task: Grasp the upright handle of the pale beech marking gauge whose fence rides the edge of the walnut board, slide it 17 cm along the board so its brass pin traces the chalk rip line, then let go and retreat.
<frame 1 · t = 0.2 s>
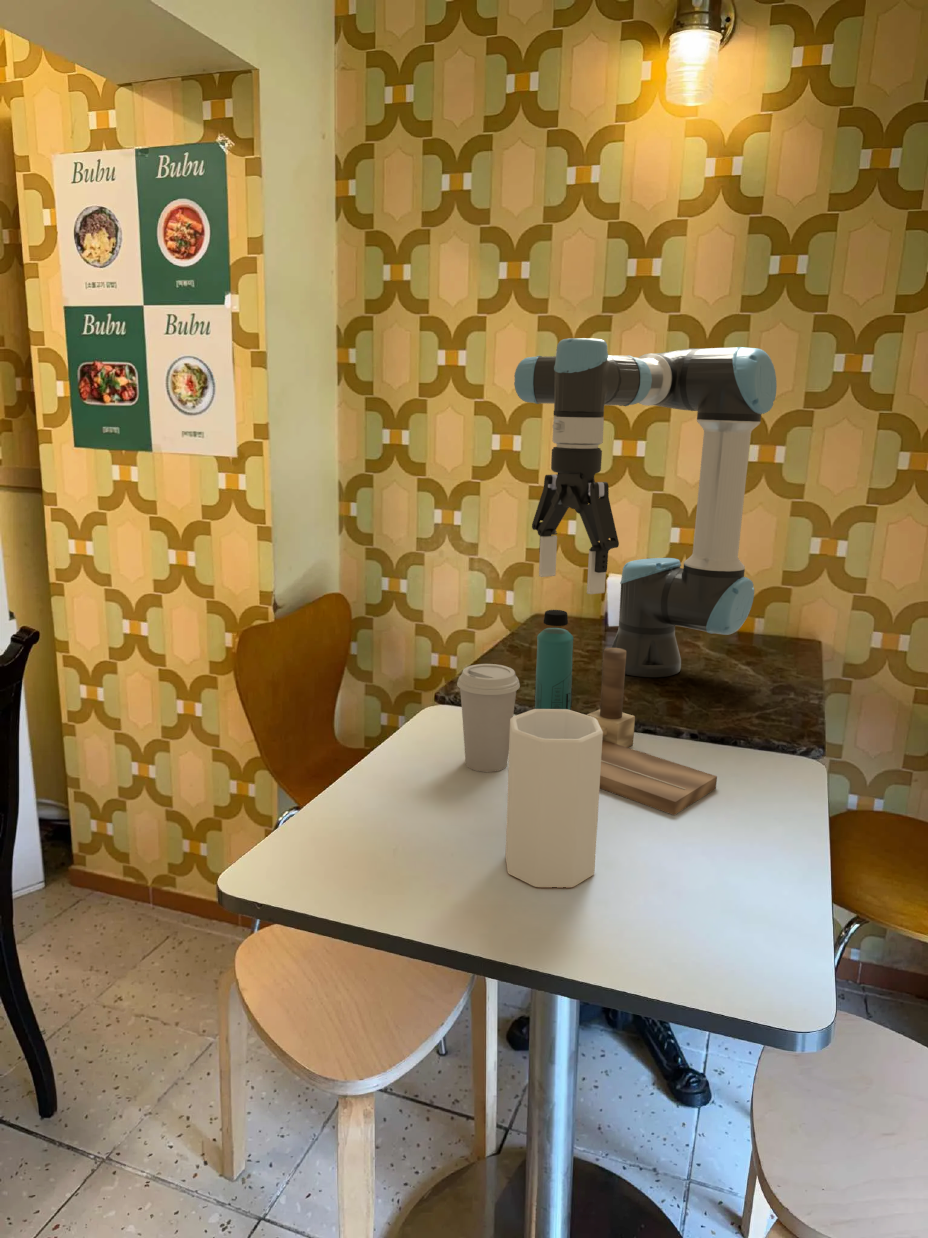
hand: (570, 584, 141), 27 cm above the table, fingers open, 13 cm apart
cup: (549, 867, 110), on the table
board: (618, 774, 137), on the table
gauge: (594, 705, 143), point 8 cm above the table, slide at 0.0 cm
beverage bottle: (551, 722, 158), on the table
coffee cup: (486, 764, 140), on the table
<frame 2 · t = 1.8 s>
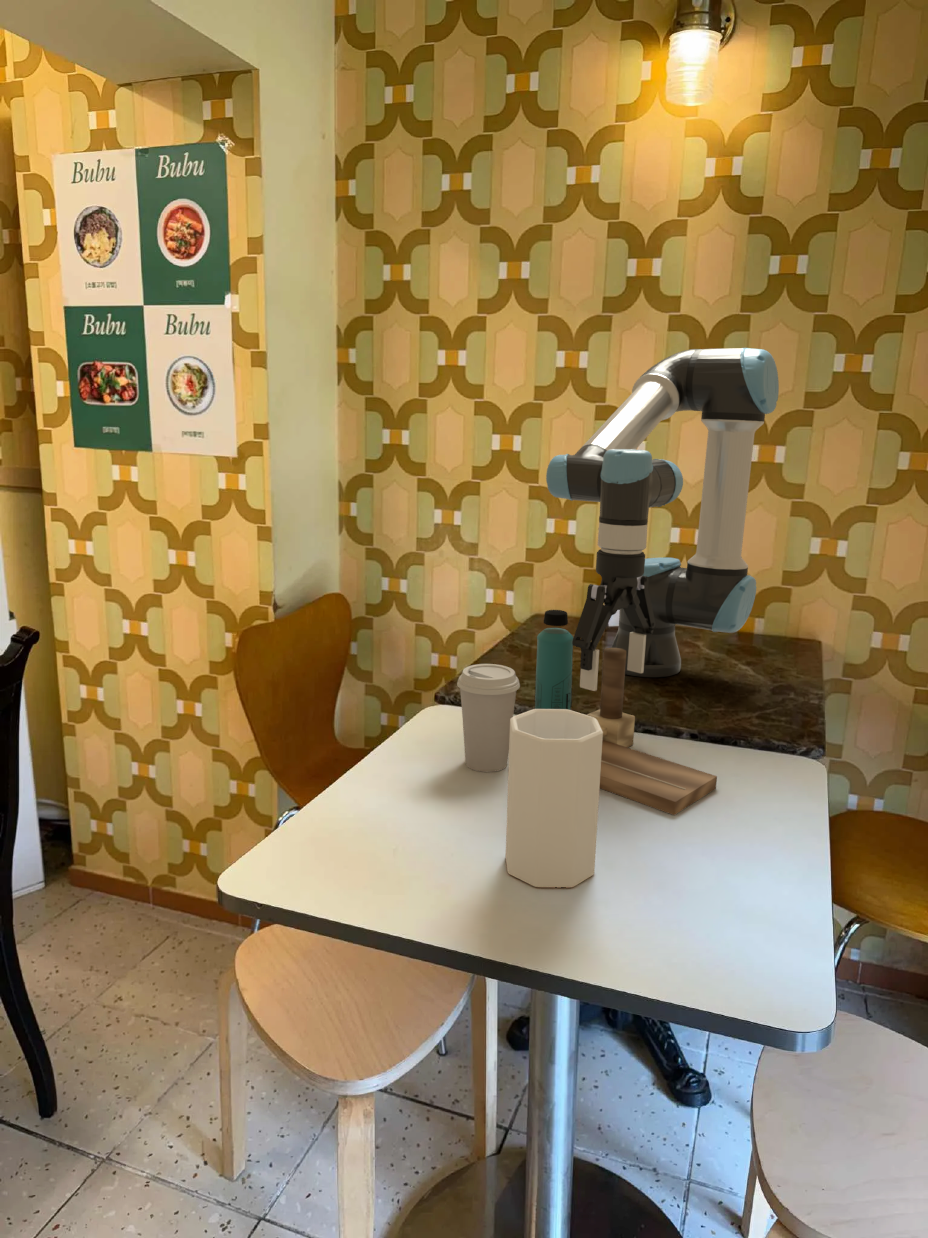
hand: (612, 680, 146), 11 cm above the table, fingers open, 13 cm apart
nothing on the table moved.
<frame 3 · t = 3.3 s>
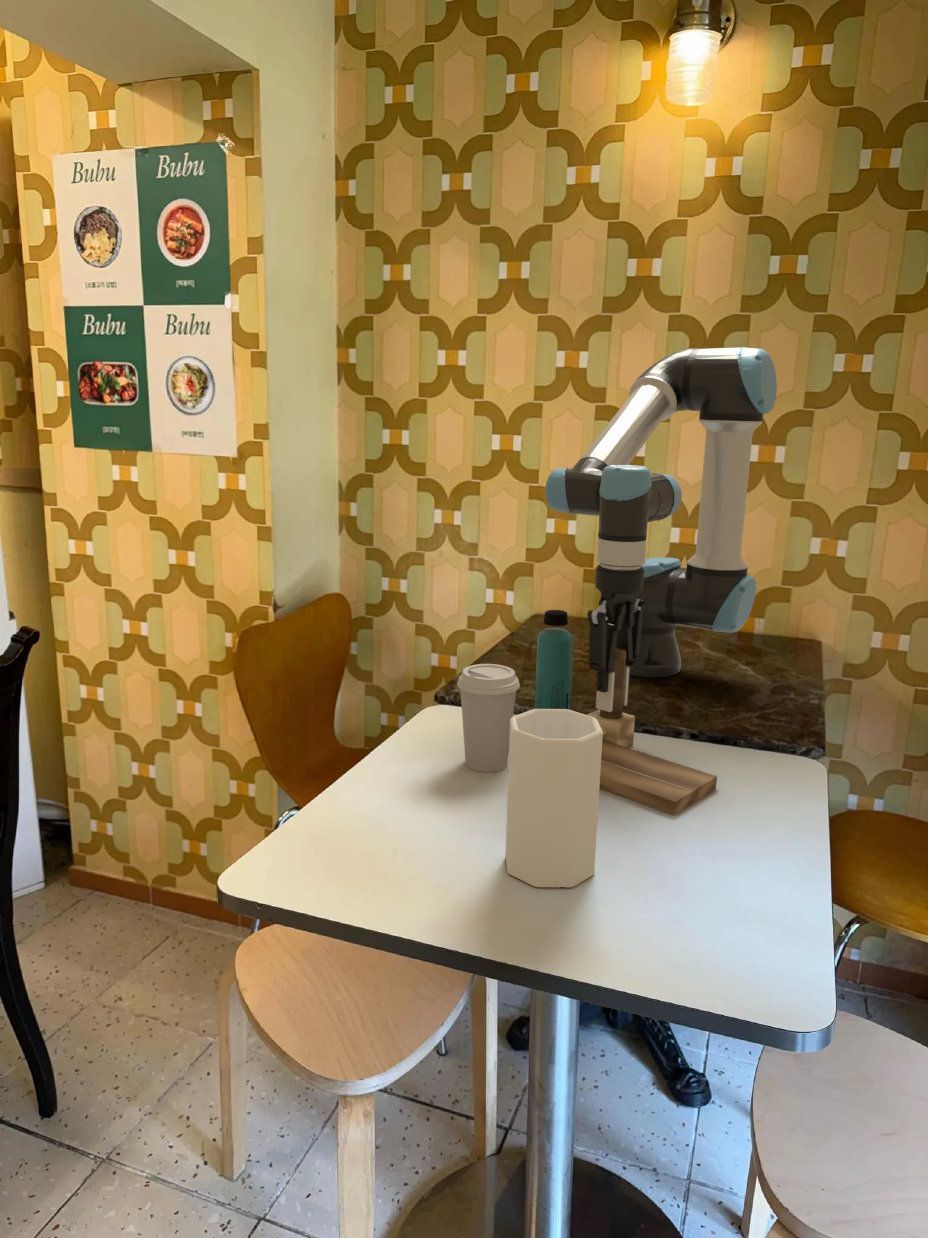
hand: (611, 706, 147), 7 cm above the table, fingers closed on gauge, 4 cm apart
gauge: (594, 705, 143), point 8 cm above the table, slide at 0.0 cm, touching gripper
everything else where it was.
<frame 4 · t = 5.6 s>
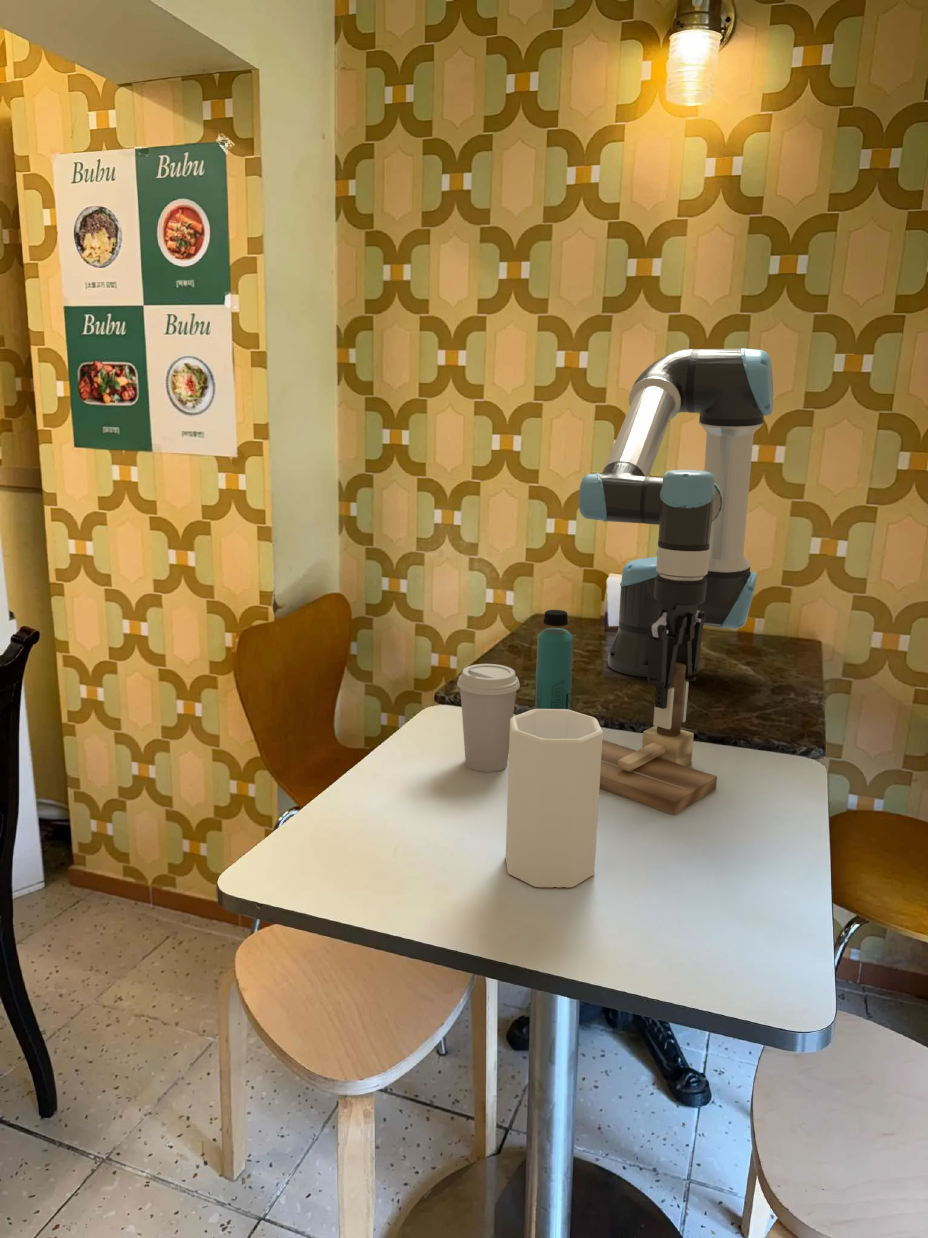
hand: (669, 722, 140), 7 cm above the table, fingers closed on gauge, 4 cm apart
gauge: (652, 722, 136), point 8 cm above the table, slide at 10.7 cm, touching gripper
everything else where it was.
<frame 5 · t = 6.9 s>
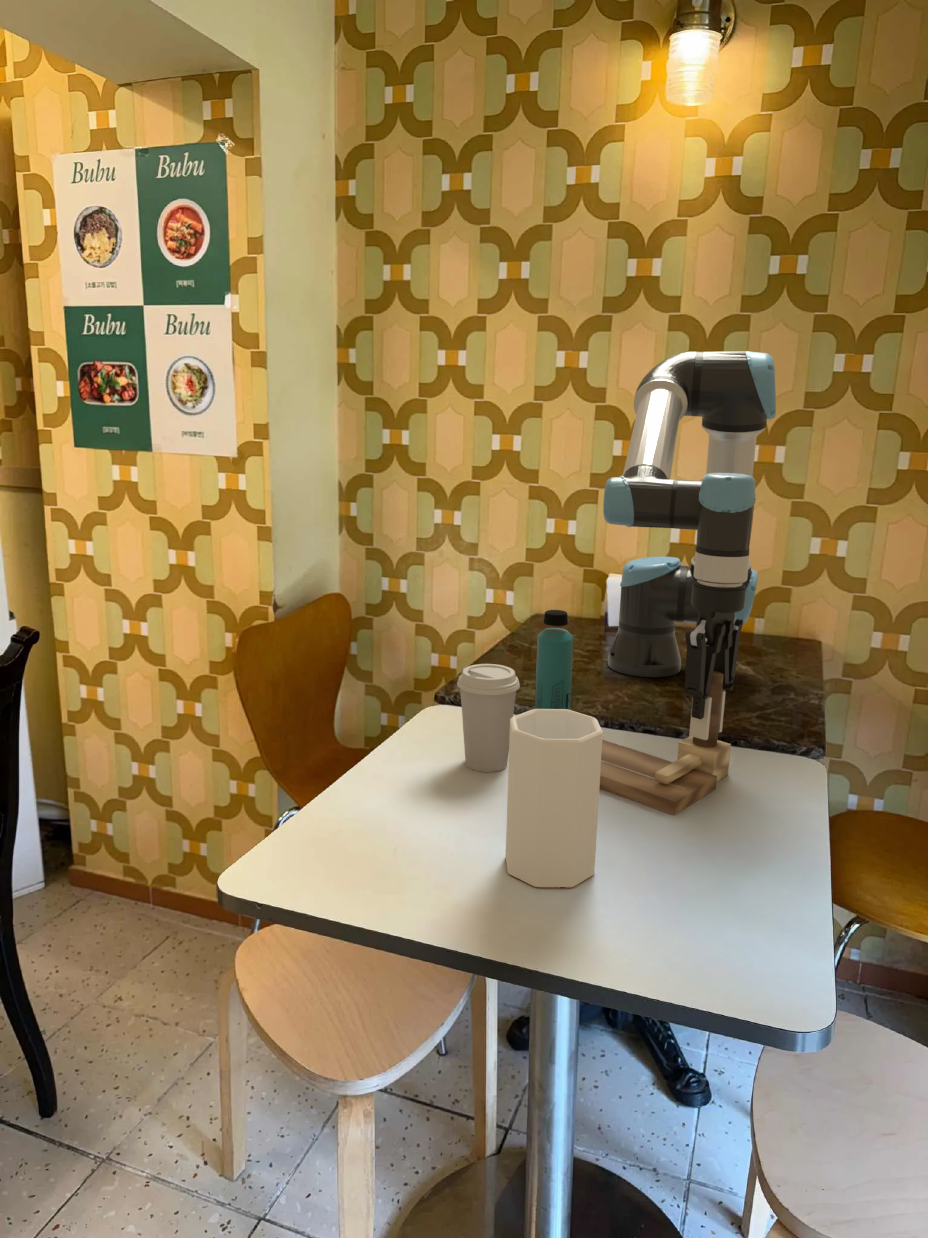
hand: (705, 733, 136), 7 cm above the table, fingers closed on gauge, 4 cm apart
gauge: (689, 733, 132), point 8 cm above the table, slide at 16.9 cm, touching gripper
everything else where it was.
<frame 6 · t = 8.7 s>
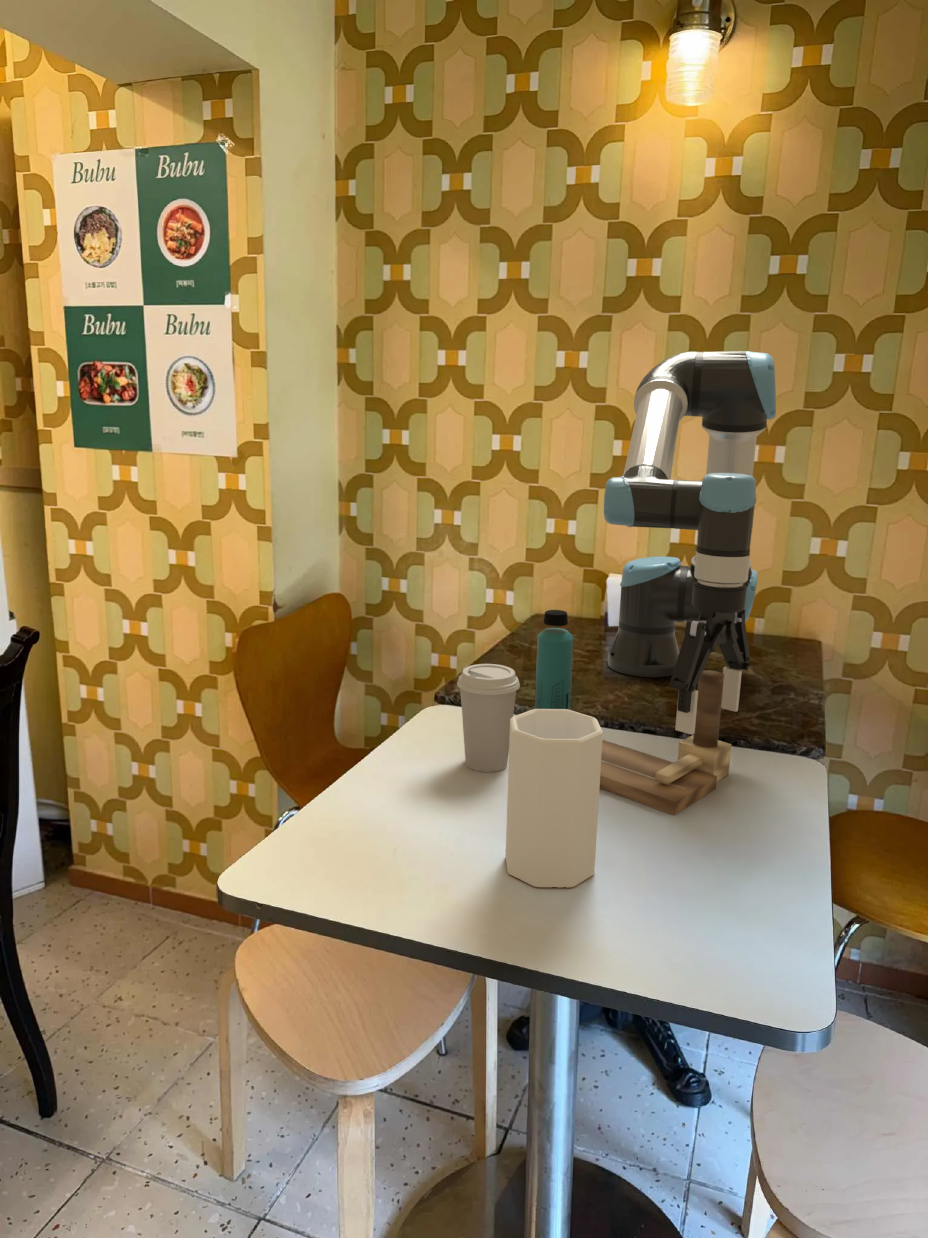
hand: (707, 720, 136), 9 cm above the table, fingers open, 13 cm apart
gauge: (690, 733, 132), point 8 cm above the table, slide at 17.0 cm
everything else where it was.
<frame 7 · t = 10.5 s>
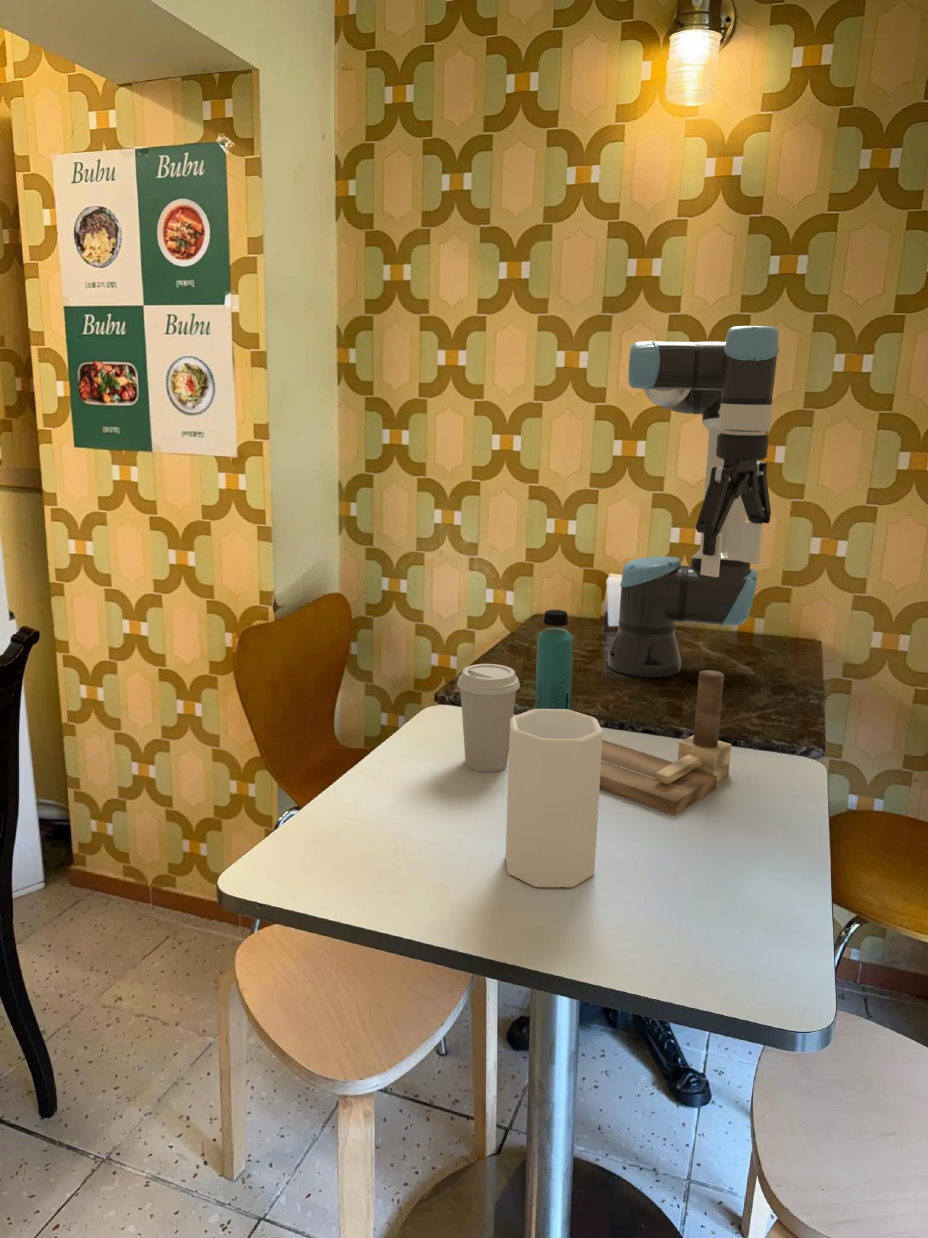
hand: (730, 569, 143), 29 cm above the table, fingers open, 13 cm apart
nothing on the table moved.
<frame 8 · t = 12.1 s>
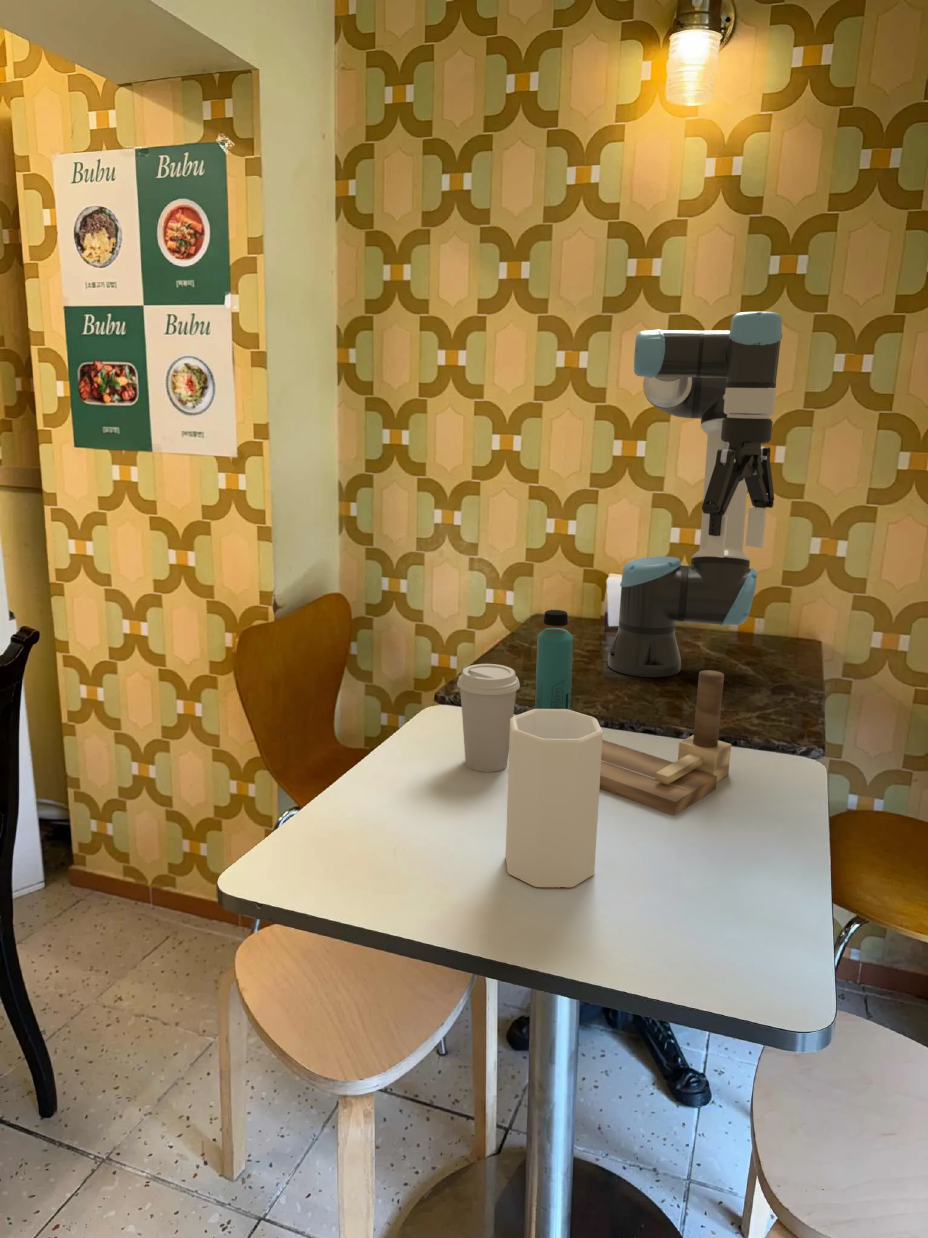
hand: (735, 551, 146), 32 cm above the table, fingers open, 13 cm apart
nothing on the table moved.
at the end: gauge slide at 17.0 cm; the gripper is holding nothing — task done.
